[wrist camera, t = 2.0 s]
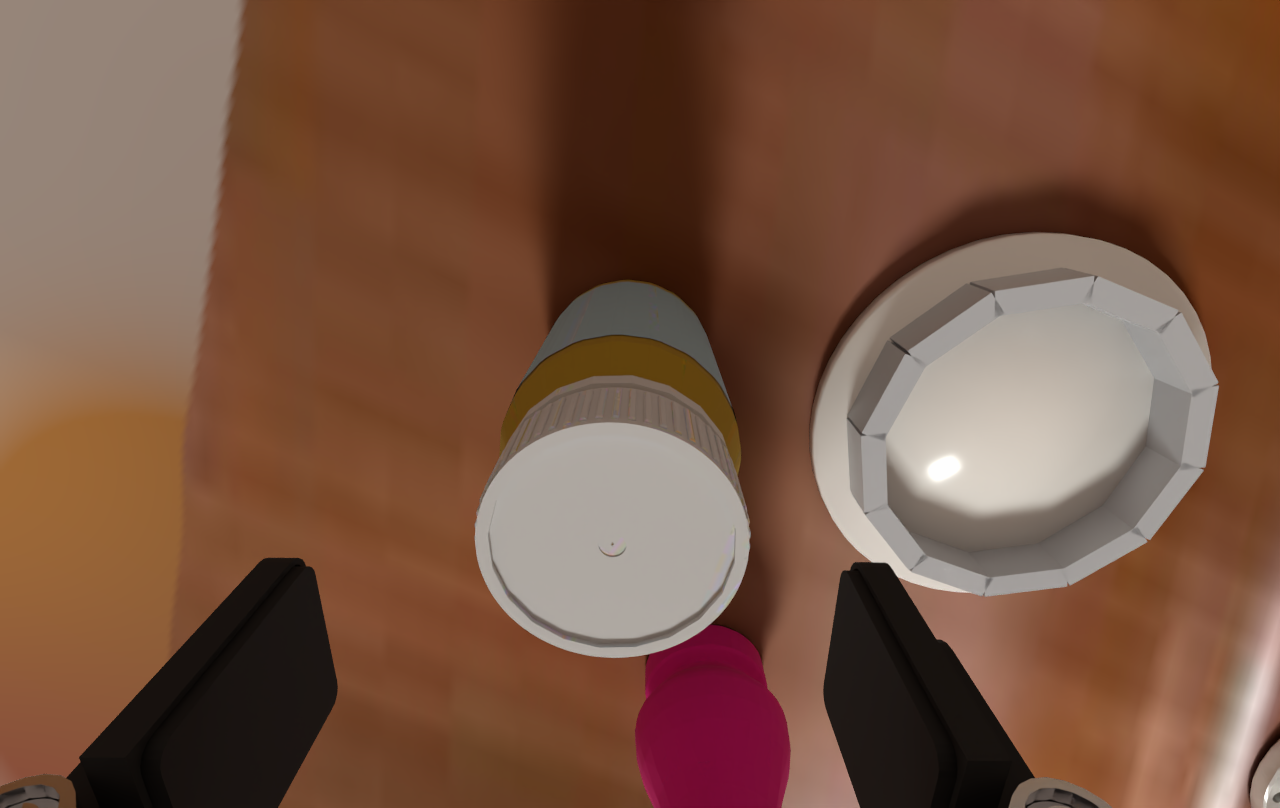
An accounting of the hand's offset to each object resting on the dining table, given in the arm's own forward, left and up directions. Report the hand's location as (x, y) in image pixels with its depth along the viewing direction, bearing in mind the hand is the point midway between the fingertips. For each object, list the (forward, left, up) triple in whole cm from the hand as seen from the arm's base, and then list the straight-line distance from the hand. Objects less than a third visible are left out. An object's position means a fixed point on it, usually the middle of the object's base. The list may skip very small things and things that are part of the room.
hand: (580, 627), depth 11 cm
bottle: (0, 0, -18) cm, 18 cm away
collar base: (-13, -11, -18) cm, 25 cm away
